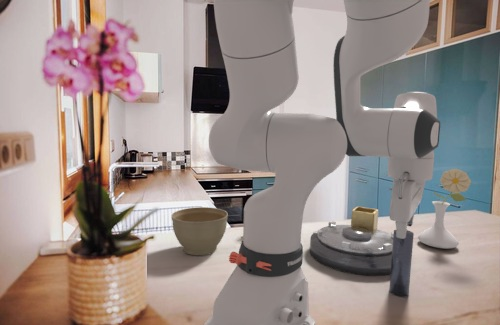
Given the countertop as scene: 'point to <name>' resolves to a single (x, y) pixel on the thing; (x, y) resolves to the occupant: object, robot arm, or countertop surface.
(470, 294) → the countertop surface
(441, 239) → the flower in vase
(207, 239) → the planter bowl
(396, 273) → the pin
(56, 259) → the countertop surface
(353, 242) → the grey round disc
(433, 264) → the countertop surface
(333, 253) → the housing
